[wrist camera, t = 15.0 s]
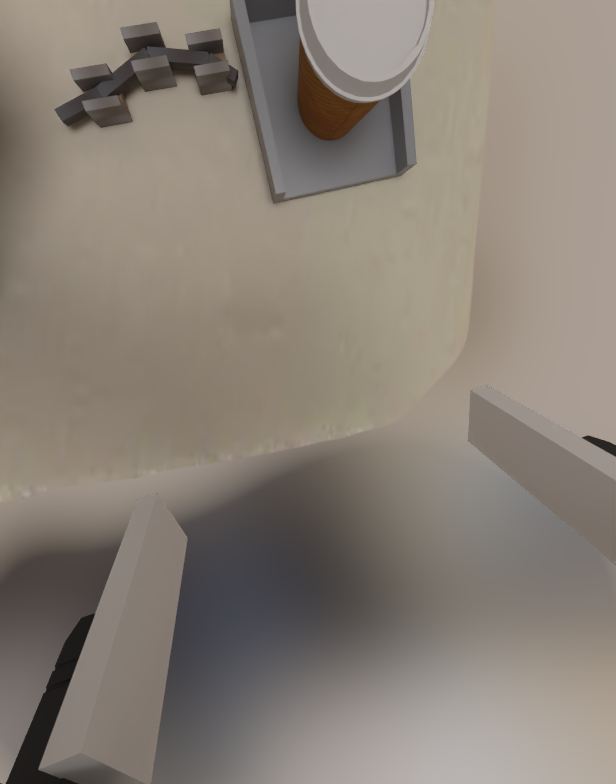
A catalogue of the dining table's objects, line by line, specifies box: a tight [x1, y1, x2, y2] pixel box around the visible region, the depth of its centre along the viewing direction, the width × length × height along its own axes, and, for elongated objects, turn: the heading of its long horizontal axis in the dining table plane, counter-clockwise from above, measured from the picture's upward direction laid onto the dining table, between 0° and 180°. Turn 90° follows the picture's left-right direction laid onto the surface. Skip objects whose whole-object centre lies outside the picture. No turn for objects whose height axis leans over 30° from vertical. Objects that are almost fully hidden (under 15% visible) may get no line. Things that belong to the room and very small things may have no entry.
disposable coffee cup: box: [296, 0, 435, 141], centre depth 25 cm, size 10×10×12 cm
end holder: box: [230, 0, 417, 203], centre depth 30 cm, size 15×15×4 cm
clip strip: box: [54, 22, 238, 127], centre depth 27 cm, size 16×5×3 cm, turn 103°
